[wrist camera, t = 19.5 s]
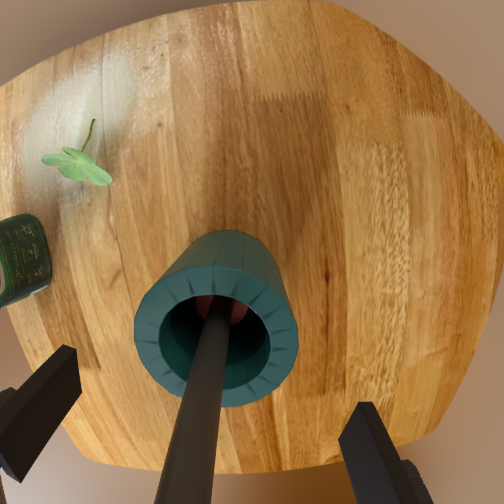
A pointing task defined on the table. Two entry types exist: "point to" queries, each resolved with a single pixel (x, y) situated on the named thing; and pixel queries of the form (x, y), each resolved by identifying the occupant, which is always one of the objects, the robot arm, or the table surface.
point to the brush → (200, 408)
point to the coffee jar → (22, 259)
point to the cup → (241, 334)
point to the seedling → (78, 165)
